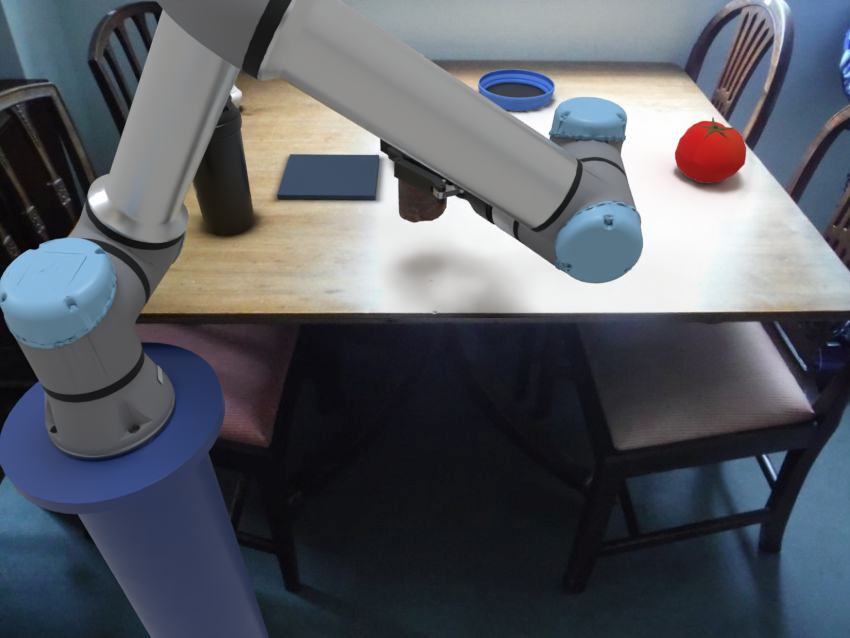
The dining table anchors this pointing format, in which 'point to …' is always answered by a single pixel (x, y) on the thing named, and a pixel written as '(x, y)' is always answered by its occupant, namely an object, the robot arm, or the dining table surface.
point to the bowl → (517, 89)
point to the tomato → (710, 152)
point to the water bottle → (225, 178)
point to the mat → (330, 177)
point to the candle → (417, 204)
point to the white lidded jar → (236, 96)
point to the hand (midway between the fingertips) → (404, 134)
